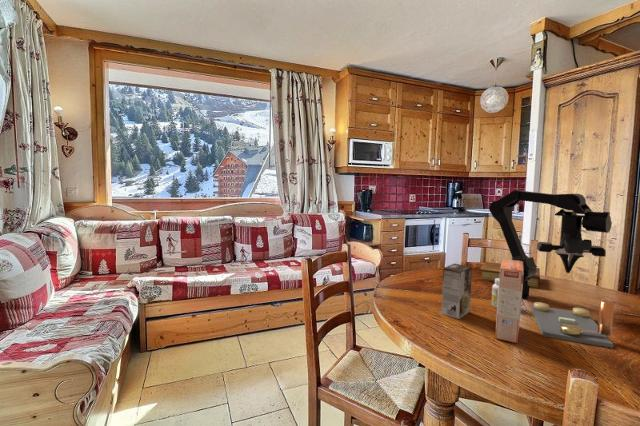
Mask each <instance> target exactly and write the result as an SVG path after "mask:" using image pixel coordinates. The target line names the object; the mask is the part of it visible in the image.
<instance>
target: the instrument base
mask: <svg viewBox="0 0 640 426" xmlns="http://www.w3.org/2000/svg"><path fill="white" fill-rule="evenodd" d="M530 307H531V308H530V309H531V311H532V313H533V316H534V319H535V321H536V323H537V326H538V328H539V331H540V332H541V336H542V337H546V338H552V339H557V340H562V341H569V342H573V343H580V344H585V345H590V346H591V345H592V346H597V347H602V346H604V347H603V348H608V347H610V348H609V349H614V343H613V342H612V340H610V338H609V337H608V335H606V337H601V336H592V335H584V334H582V335H581V336H572V335H568V334H565V333H563V332H561V331H560V325H561V324H571V325H575V326H577V327H580V328H581V329H582V330H591V331H598V323H596V321H594V319H593V318H592V317H591V316H590V310H589V309H585V308H582V307H573V308H572V310H567V309H560V308H553V307H550V305H549V304H548V303H544V302H539V301H535V302H533V305H532V304H531V306H530Z"/></svg>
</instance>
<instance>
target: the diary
mask: <svg viewBox="0 0 640 426" xmlns="http://www.w3.org/2000/svg"><path fill="white" fill-rule="evenodd" d="M501 264H502V262H501V263H499V262H491V261H484V263H483V264H482V265H481V268H480V269H479V270H480V271H479V272H481V276H480V278H479V280H480V279H482V280H481V281H484V280H487V281H486V282H491V281H493V282H492V283H495V279H496V278H499V277H500V268H501ZM540 270H541V269H540V267H536V273H535V275H534V276H531V278H530V280H527V281H528V284H529V286H530V288H531V289H537V290H538V289H540V280H541V275H540V274H541V272H540ZM530 288H529V289H530Z"/></svg>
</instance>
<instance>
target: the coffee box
mask: <svg viewBox="0 0 640 426" xmlns="http://www.w3.org/2000/svg"><path fill="white" fill-rule="evenodd" d="M472 268H473V267H472V266H467V265H464V264H459V263H452V264H450V265H447V266H445V267H443V273H442V298H441V315H445V316H448V317H451V318H453V319H458V320H460V319H462V318H463V317H464V316H466V315H467V314H468V313H470V312H471V295H472V294H471V293H472V273H473V272H472V270H473V269H472Z"/></svg>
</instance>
